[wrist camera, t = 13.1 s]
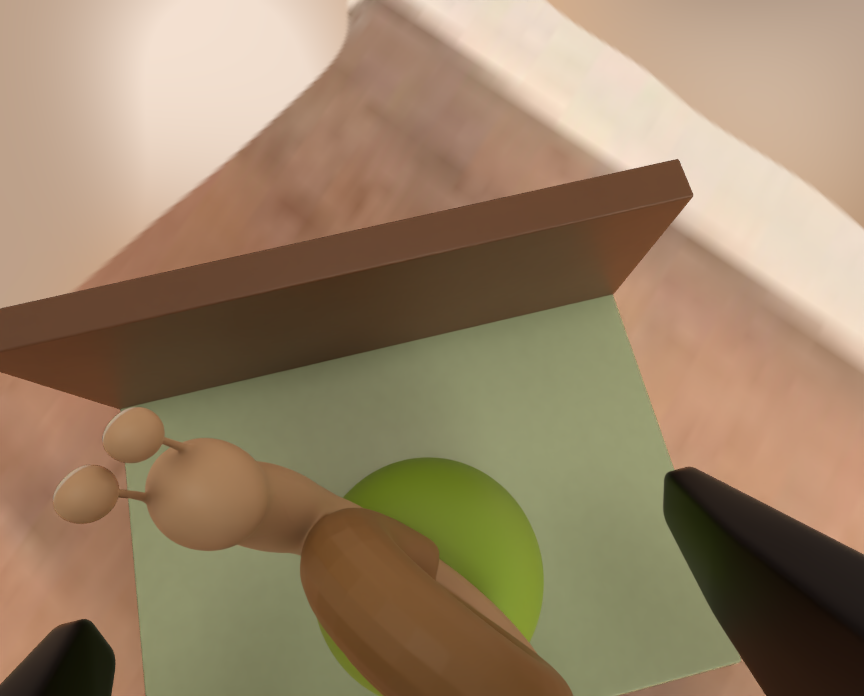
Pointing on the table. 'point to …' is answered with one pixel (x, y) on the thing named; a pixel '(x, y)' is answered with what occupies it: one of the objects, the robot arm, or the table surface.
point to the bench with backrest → (403, 421)
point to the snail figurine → (358, 555)
